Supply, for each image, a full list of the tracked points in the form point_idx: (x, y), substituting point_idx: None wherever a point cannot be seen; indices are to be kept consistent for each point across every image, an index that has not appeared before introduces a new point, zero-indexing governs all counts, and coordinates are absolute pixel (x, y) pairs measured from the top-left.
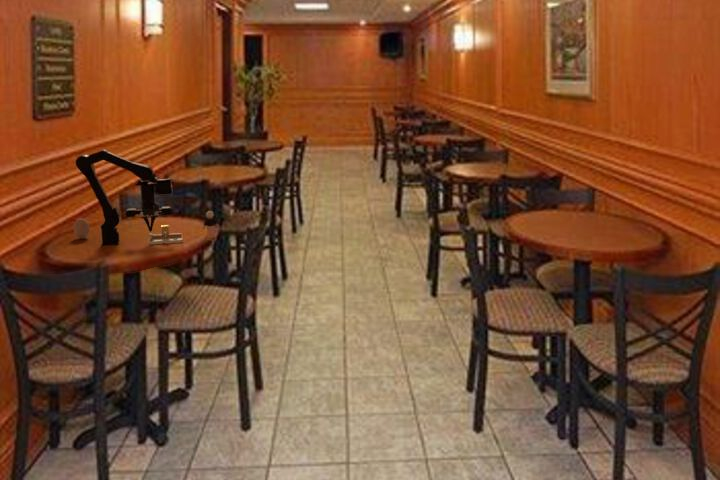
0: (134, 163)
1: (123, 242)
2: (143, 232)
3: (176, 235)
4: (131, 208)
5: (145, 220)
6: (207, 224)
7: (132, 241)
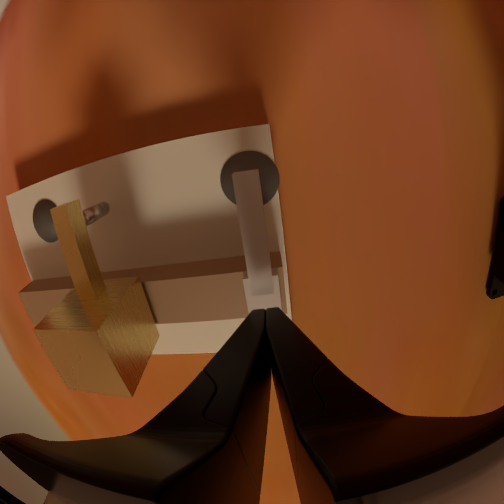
0: None
1: (469, 258)
2: None
3: (48, 285)
4: None
5: (373, 415)
6: None
7: (417, 283)
